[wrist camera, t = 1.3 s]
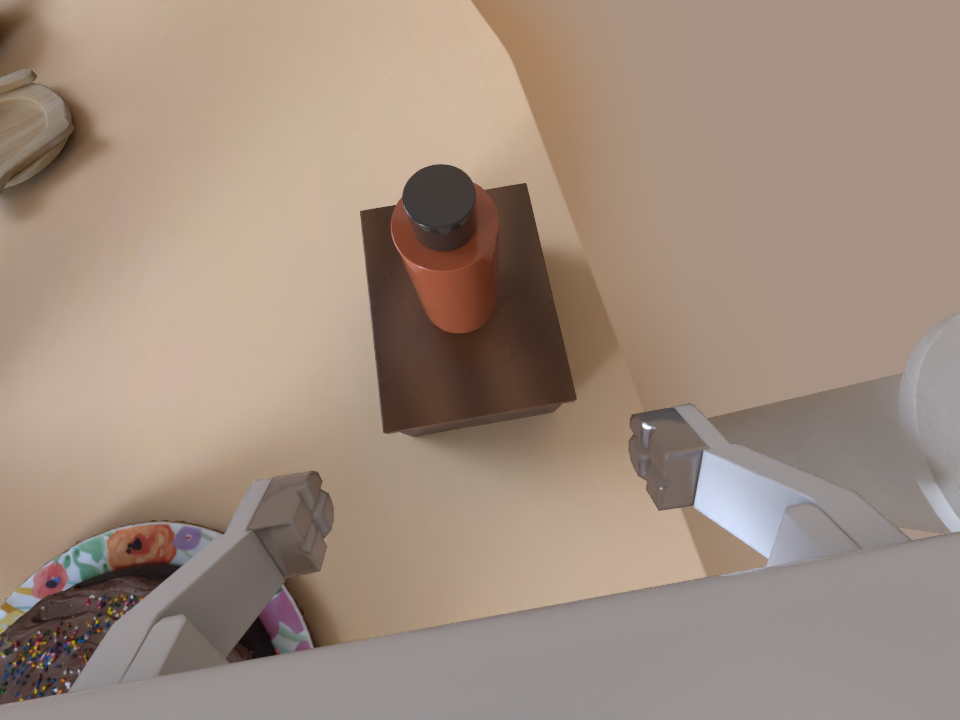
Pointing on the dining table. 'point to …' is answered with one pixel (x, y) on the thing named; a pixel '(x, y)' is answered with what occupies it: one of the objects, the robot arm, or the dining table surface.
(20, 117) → the tableware set
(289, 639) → the chocolate cake
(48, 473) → the dining table surface
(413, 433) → the dark brown wooden box
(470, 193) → the orange bottle
